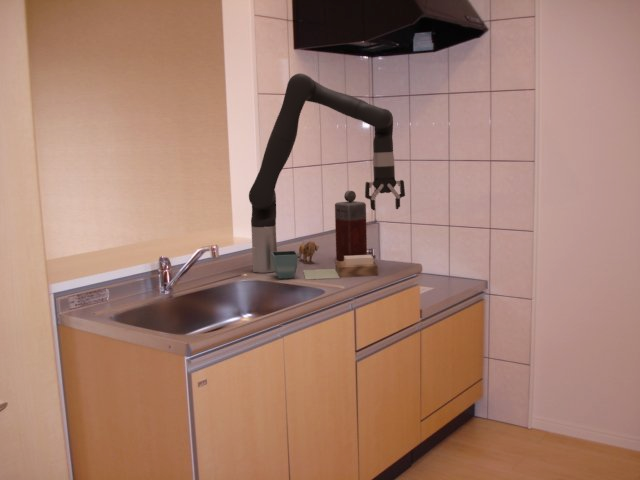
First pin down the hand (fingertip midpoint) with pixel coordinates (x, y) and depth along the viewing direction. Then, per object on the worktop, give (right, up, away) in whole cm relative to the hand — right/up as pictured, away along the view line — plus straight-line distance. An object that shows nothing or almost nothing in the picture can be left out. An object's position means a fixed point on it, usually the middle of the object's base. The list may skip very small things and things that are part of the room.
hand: (385, 209), depth 262 cm
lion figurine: (-29, -20, +27) cm, 44 cm away
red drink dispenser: (-12, -19, +28) cm, 36 cm away
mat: (-23, -24, +1) cm, 33 cm away
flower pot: (-36, -25, -2) cm, 44 cm away
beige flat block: (-10, -20, +2) cm, 22 cm away
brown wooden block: (-11, -23, +2) cm, 26 cm away
